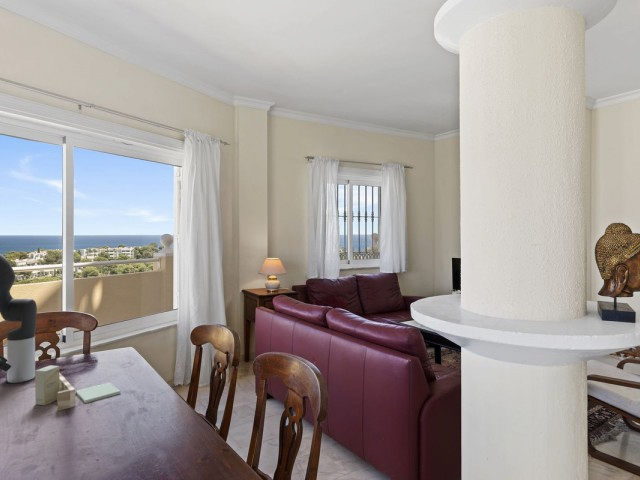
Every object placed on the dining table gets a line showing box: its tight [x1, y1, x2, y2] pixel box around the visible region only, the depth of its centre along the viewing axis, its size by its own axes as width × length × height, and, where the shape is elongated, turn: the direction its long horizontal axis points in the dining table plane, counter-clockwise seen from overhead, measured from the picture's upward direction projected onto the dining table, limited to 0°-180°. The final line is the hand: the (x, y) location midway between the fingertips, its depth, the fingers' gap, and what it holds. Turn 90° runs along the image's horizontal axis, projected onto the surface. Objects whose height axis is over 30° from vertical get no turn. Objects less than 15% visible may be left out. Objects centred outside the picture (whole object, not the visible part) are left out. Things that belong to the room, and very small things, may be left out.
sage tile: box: [75, 381, 121, 404], centre depth 148 cm, size 12×12×1 cm
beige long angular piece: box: [56, 372, 76, 412], centre depth 143 cm, size 22×5×6 cm, turn 45°
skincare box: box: [34, 364, 60, 406], centre depth 141 cm, size 6×4×12 cm
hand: (6, 365), depth 132 cm, fingers open, 8 cm apart
